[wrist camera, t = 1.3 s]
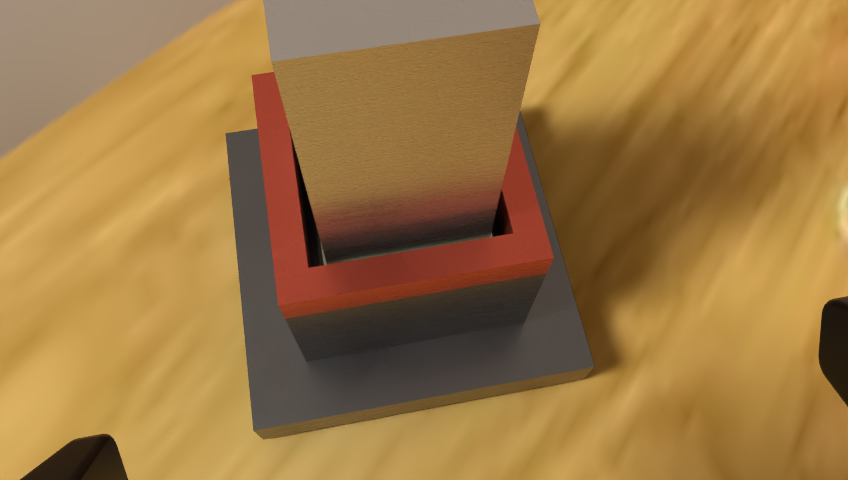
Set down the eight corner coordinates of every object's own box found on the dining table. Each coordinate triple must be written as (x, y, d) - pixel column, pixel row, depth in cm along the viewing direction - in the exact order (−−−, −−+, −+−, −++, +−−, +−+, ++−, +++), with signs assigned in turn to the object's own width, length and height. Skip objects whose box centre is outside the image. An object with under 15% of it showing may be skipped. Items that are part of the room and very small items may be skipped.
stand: (583, 379, 23) (643, 311, 17) (263, 439, 22) (208, 390, 16) (508, 114, 27) (536, -15, 21) (235, 156, 26) (183, 34, 20)
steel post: (480, 293, 22) (546, 27, 11) (338, 318, 22) (266, 66, 11) (451, 170, 24) (484, -162, 13) (319, 191, 24) (241, -134, 13)
